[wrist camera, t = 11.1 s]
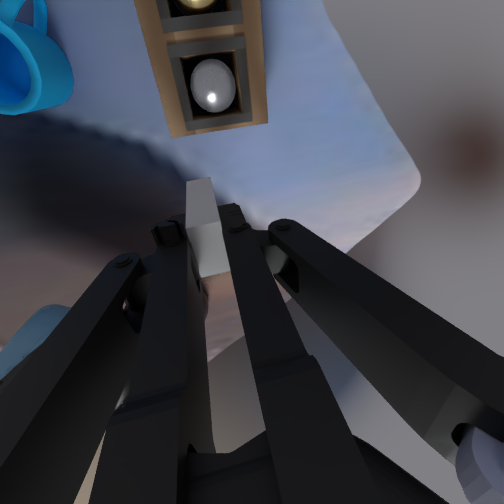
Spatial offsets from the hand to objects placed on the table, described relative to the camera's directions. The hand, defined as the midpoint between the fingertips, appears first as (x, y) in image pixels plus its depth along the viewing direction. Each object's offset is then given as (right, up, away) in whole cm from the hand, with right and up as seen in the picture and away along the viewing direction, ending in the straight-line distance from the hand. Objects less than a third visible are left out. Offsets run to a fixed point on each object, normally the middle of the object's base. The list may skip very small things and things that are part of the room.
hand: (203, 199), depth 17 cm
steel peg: (-2, +19, +17) cm, 26 cm away
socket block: (-3, +23, +15) cm, 27 cm away
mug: (-22, +20, +13) cm, 32 cm away
